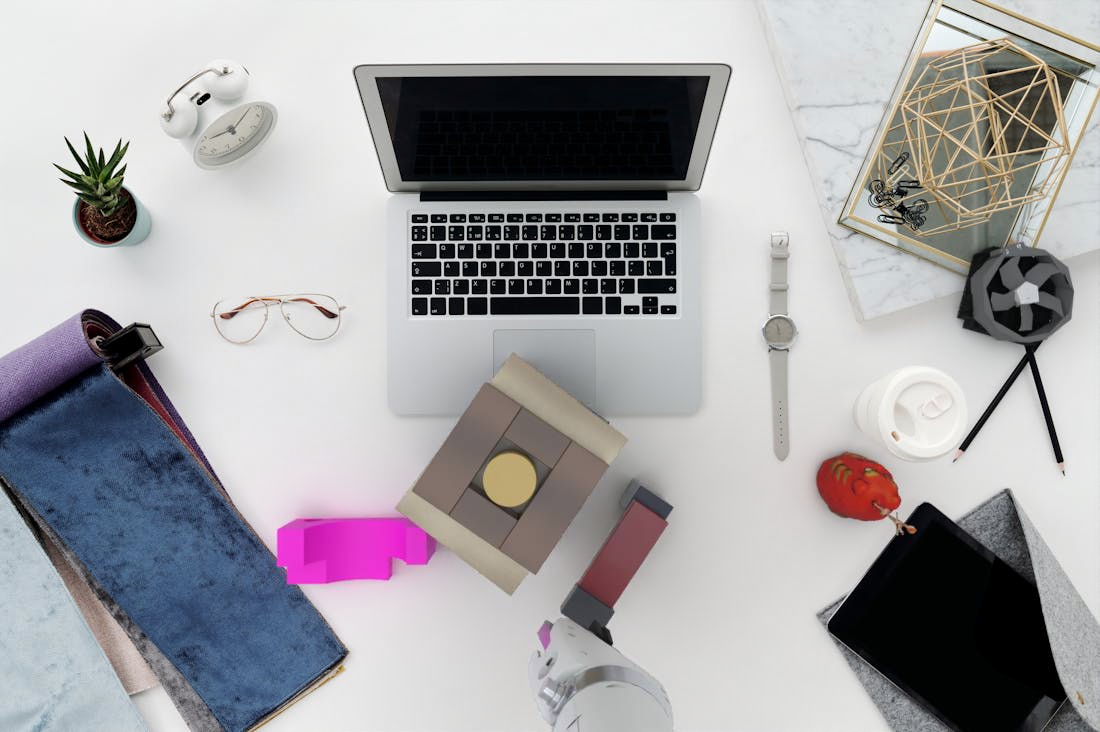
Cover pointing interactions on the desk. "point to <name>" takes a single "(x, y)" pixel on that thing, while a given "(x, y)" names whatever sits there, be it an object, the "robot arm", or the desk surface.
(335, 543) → the toy block
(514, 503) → the button
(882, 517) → the red clay folk toy
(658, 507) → the dark blue-grey long block
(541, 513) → the interlocking block puzzle
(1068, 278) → the cpu cooler
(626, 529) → the bar
